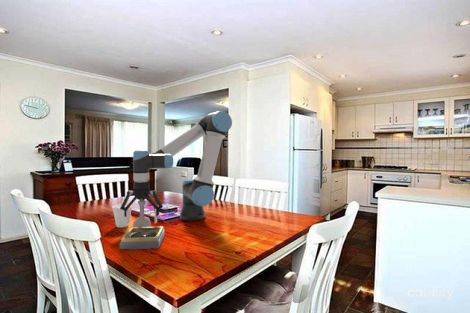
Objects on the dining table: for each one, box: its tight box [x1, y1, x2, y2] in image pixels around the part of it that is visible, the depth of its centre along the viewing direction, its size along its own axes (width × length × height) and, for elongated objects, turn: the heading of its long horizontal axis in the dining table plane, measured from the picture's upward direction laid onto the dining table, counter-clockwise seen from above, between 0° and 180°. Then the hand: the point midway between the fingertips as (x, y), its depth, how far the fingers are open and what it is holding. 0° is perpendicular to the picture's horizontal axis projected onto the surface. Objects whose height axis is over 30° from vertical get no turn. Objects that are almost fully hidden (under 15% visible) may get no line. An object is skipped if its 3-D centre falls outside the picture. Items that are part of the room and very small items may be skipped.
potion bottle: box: [132, 199, 152, 228], centre depth 131 cm, size 9×9×18 cm
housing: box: [119, 226, 166, 250], centre depth 118 cm, size 16×16×4 cm
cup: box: [111, 203, 133, 229], centre depth 141 cm, size 10×10×11 cm
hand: (142, 222), depth 132 cm, fingers open, 13 cm apart
